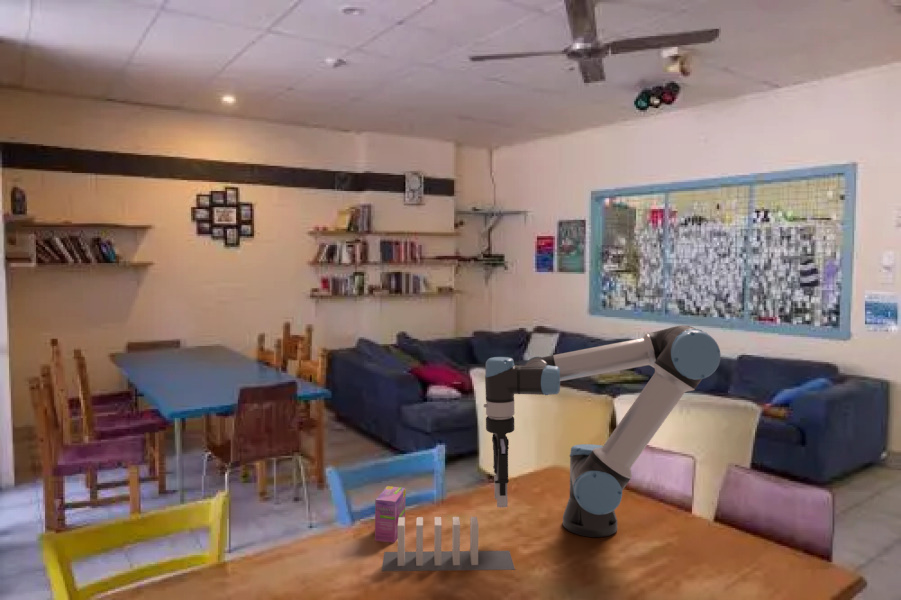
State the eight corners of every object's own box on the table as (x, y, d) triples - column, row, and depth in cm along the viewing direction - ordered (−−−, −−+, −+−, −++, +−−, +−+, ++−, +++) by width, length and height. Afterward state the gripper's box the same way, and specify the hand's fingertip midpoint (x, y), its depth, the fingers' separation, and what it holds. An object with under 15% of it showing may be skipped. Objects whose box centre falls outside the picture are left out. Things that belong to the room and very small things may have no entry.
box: (395, 545, 167) (395, 501, 166) (374, 543, 168) (374, 499, 167) (405, 528, 177) (406, 487, 176) (386, 527, 178) (386, 485, 177)
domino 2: (422, 556, 159) (423, 517, 159) (422, 565, 154) (422, 525, 154) (416, 556, 159) (416, 517, 158) (416, 565, 154) (416, 525, 153)
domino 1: (404, 556, 159) (405, 517, 158) (404, 565, 154) (404, 525, 153) (398, 556, 159) (398, 517, 158) (397, 565, 154) (397, 525, 153)
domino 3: (440, 555, 159) (441, 516, 159) (441, 565, 154) (441, 525, 154) (434, 555, 159) (434, 517, 159) (434, 565, 154) (434, 525, 154)
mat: (509, 552, 163) (509, 550, 162) (514, 571, 153) (514, 569, 153) (384, 554, 161) (384, 551, 161) (381, 573, 151) (381, 570, 151)
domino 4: (458, 555, 159) (458, 516, 159) (459, 565, 154) (460, 525, 154) (452, 555, 159) (452, 516, 159) (453, 565, 154) (453, 525, 154)
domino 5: (476, 555, 160) (476, 516, 159) (478, 564, 155) (478, 524, 154) (470, 555, 160) (470, 516, 159) (471, 565, 155) (471, 524, 154)
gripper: (482, 408, 176) (483, 490, 178) (489, 425, 158) (490, 516, 160) (509, 408, 177) (510, 490, 178) (519, 424, 159) (520, 515, 160)
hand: (500, 502), depth 169 cm, fingers closed on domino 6, 5 cm apart
